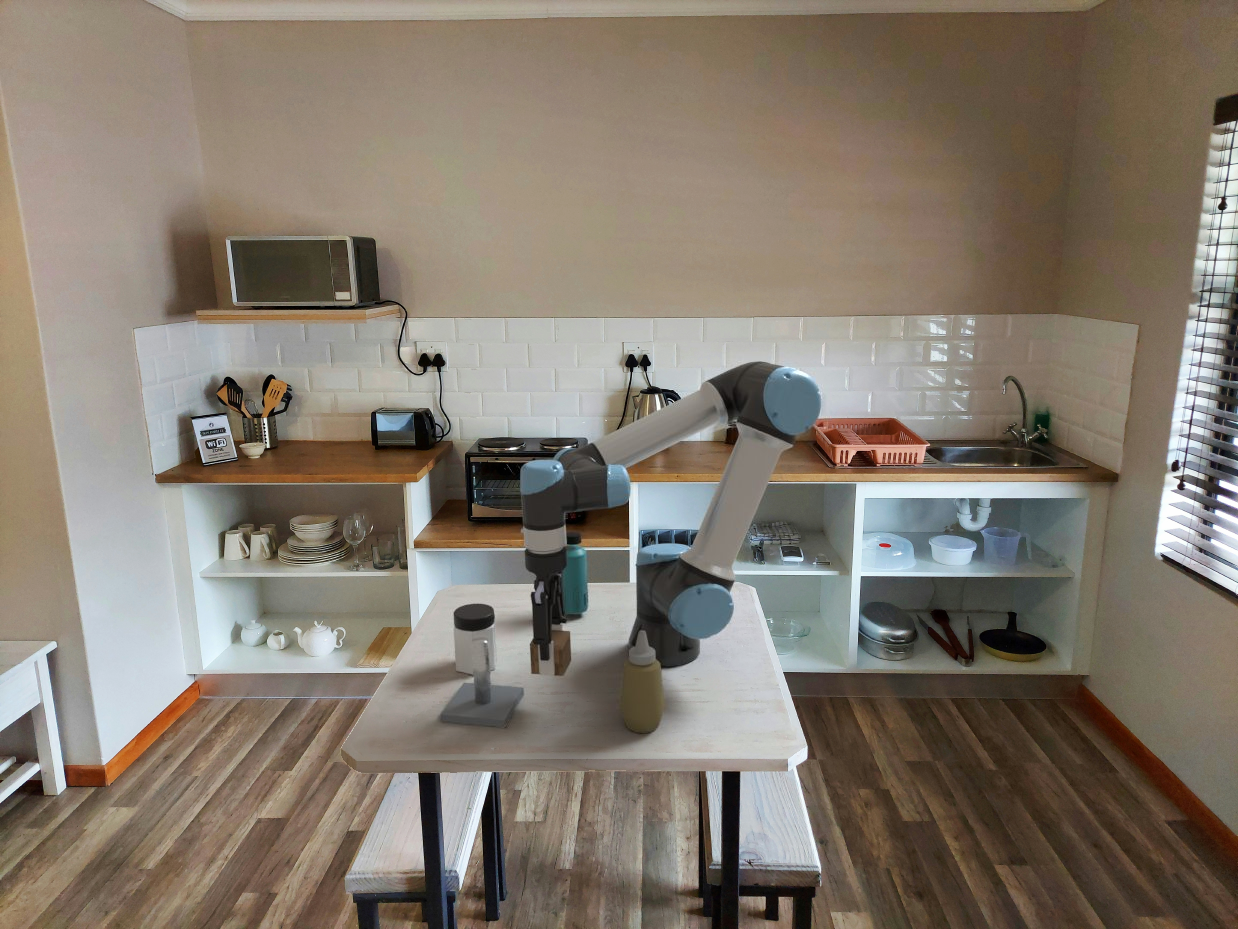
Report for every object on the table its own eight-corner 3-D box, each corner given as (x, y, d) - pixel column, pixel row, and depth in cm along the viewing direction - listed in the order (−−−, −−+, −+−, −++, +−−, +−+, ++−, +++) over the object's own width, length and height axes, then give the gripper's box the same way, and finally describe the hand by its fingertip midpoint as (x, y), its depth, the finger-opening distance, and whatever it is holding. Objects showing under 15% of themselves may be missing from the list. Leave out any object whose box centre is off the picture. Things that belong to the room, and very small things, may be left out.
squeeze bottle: (650, 742, 148) (650, 645, 144) (611, 729, 152) (609, 635, 148) (673, 721, 155) (673, 628, 151) (634, 709, 159) (634, 618, 155)
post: (493, 697, 161) (490, 637, 158) (488, 705, 158) (485, 645, 155) (478, 695, 161) (475, 636, 158) (472, 703, 158) (469, 643, 156)
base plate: (523, 694, 165) (523, 687, 164) (504, 727, 153) (504, 720, 153) (464, 689, 167) (463, 682, 166) (440, 721, 155) (440, 714, 155)
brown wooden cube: (571, 660, 161) (570, 631, 160) (563, 676, 156) (562, 645, 154) (540, 658, 162) (538, 629, 161) (531, 673, 157) (529, 643, 155)
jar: (464, 679, 171) (461, 623, 168) (448, 663, 177) (445, 609, 174) (505, 667, 176) (502, 612, 173) (488, 652, 182) (485, 599, 179)
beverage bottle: (588, 620, 198) (586, 537, 193) (559, 620, 198) (556, 537, 193) (589, 609, 204) (587, 528, 199) (561, 609, 204) (559, 528, 199)
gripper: (539, 529, 163) (545, 641, 169) (509, 565, 145) (517, 689, 151) (577, 530, 162) (583, 643, 167) (552, 567, 144) (559, 692, 149)
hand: (552, 665), depth 159 cm, fingers closed on brown wooden cube, 6 cm apart
